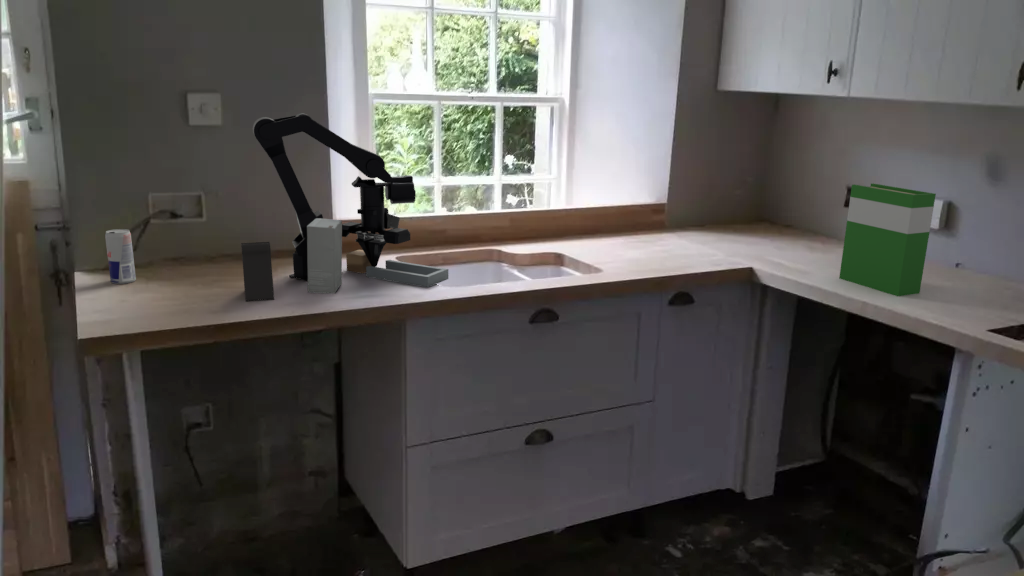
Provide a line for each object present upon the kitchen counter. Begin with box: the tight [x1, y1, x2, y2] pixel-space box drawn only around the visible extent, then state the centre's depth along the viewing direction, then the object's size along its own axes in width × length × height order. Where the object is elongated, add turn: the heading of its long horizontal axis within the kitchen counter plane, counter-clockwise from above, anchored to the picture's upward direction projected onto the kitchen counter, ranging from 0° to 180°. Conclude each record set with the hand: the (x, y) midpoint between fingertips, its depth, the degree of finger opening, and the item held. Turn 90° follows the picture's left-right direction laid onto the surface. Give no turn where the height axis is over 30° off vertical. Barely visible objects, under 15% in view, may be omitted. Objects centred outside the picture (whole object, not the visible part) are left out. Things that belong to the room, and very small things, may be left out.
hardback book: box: [839, 182, 937, 297], centre depth 193 cm, size 18×7×24 cm, turn 25°
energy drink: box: [104, 228, 137, 285], centre depth 184 cm, size 5×5×12 cm
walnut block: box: [345, 249, 371, 274], centre depth 200 cm, size 5×5×4 cm
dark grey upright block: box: [240, 241, 275, 303], centre depth 175 cm, size 9×6×12 cm, turn 19°
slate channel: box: [365, 259, 449, 288], centre depth 194 cm, size 9×18×2 cm, turn 62°
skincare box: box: [307, 218, 343, 294], centre depth 181 cm, size 8×7×16 cm
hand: (374, 266), depth 198 cm, fingers closed
